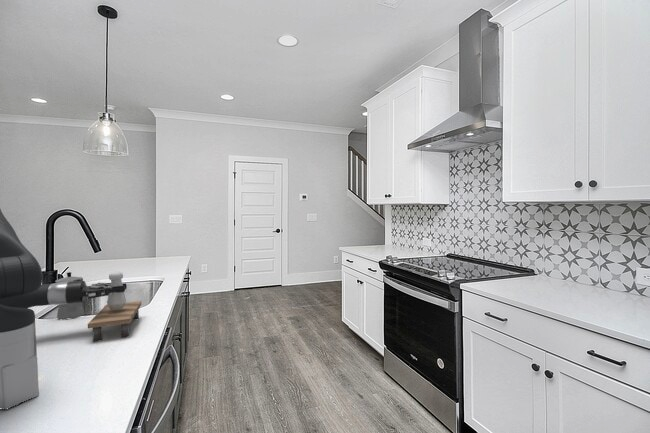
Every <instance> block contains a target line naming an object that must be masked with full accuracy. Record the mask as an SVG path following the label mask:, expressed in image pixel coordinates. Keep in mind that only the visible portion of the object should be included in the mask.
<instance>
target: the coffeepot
mask: <svg viewBox="0 0 650 433" xmlns="http://www.w3.org/2000/svg"><path fill="white" fill-rule="evenodd" d="M71 281H84V278H83V277H82V276H72V272H69V271H68V272H66V277H62V278H58V279H57V280H55V283H60V282H71ZM84 315H85V310H84V307H83V302H81V303H71V304H61V305H58V308H57V315H56V318H57V319H58V320H60V319H62V320H64V321H65V320H68V319H67V318H72V319H76V318H79V317H82V316H84Z"/></svg>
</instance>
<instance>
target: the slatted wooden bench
mask: <svg viewBox="0 0 650 433" xmlns="http://www.w3.org/2000/svg"><path fill="white" fill-rule="evenodd" d="M141 306H142V300H138V301H137V300H136V301H128V302H127V301H126V302H125V305H124V307H123V308H121V309H117V310H110V308H109V306H108V304H107V303H106V304H105V305H104V306H103V307H102V308H101V310H100V311H99V312H97V314H96V315H94V317H93V318H92V319H91V320H90V321H89V322H88V323H87V329H92V342H94V343H95V342H101V341H102V340H103V338H102V336H103V334H102V331H103V330H102V328H103V327H110V326H119V325H120V338H121V339H126V338H128V337H130V329H129V328H130V327H129V326H130V325H129V324H131V322H132V321H137V319H138V320H139V318H140V315H139V312H140V311H139V310H140V309H141Z"/></svg>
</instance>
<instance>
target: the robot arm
mask: <svg viewBox="0 0 650 433" xmlns="http://www.w3.org/2000/svg"><path fill="white" fill-rule="evenodd" d="M43 276H44V275H43V270H42V268H41V265H40V264H39V261H38V260H37V258H35V256H34V255H33V254H32V253H31V251H29V250H28V249H27V248H26V246H25V245H24V244H23V243H22V241H21V240H20V238H19V237H18V235H17V233H16V230H15V229H14V228H13V226H12V224H10V222H9V221H8V220H7V217H6V216H5V215H4V213H3V211H2V210H1V208H0V408H4V409H7V408H10V407H12V406H14V407H16V406H18V405H17V404H19V403H21V402H23V403H25V402H27V401H29V400H28V399H30V400H32V399H33V398H36V397H38V396H40V389H39V370H38V355H37V353H38V352H37V335H36V332H37V331H36V313H35V310H33V309H31V308H34V307H41V306H42V307H43V306H53V305H55V306H59V305H61V304H71V303H81V302H82V303H84V302H85V301H86V298H88V299H90V300H91V299H95V298H101V297H108V295H109V294H112V293H113V292H117V293H119V292H124V293H125V291H127V286H128V285H127V283H124V282H123V283H122V285H123V286H116V287H113V288H112V287H111V286H110V285H111V282H97V283H92V284H91V285H87V283H86V281H85V280H83V281H71V282H60V283H56V282H55V283H45V284H43V279H44V278H43ZM31 398H32V399H31ZM26 400H27V401H26ZM24 401H25V402H24ZM21 404H22V403H21ZM15 405H16V406H15ZM19 405H20V404H19ZM12 408H13V407H12ZM4 409H3V410H4ZM10 409H11V408H10ZM7 410H8V409H7Z"/></svg>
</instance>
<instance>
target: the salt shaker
mask: <svg viewBox="0 0 650 433" xmlns="http://www.w3.org/2000/svg"><path fill="white" fill-rule="evenodd" d="M123 278H124V273H123V272H121V271H114V272H111V273H108V279H109V280H110V283H111V285H110V286H111V287H112V288H113V287H116V286H123V285H122V284H123V281H122V279H123ZM110 286H109V287H110ZM126 299H127V298H126V294H125V291H124V292H119V293H117V292H113V293H112V294H109V295H108V296H107V300H106V305H107V304H108V306H109V308H110V310H117V309H121V308H123V307H124V305H125V303H126V302H127V300H126Z"/></svg>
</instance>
